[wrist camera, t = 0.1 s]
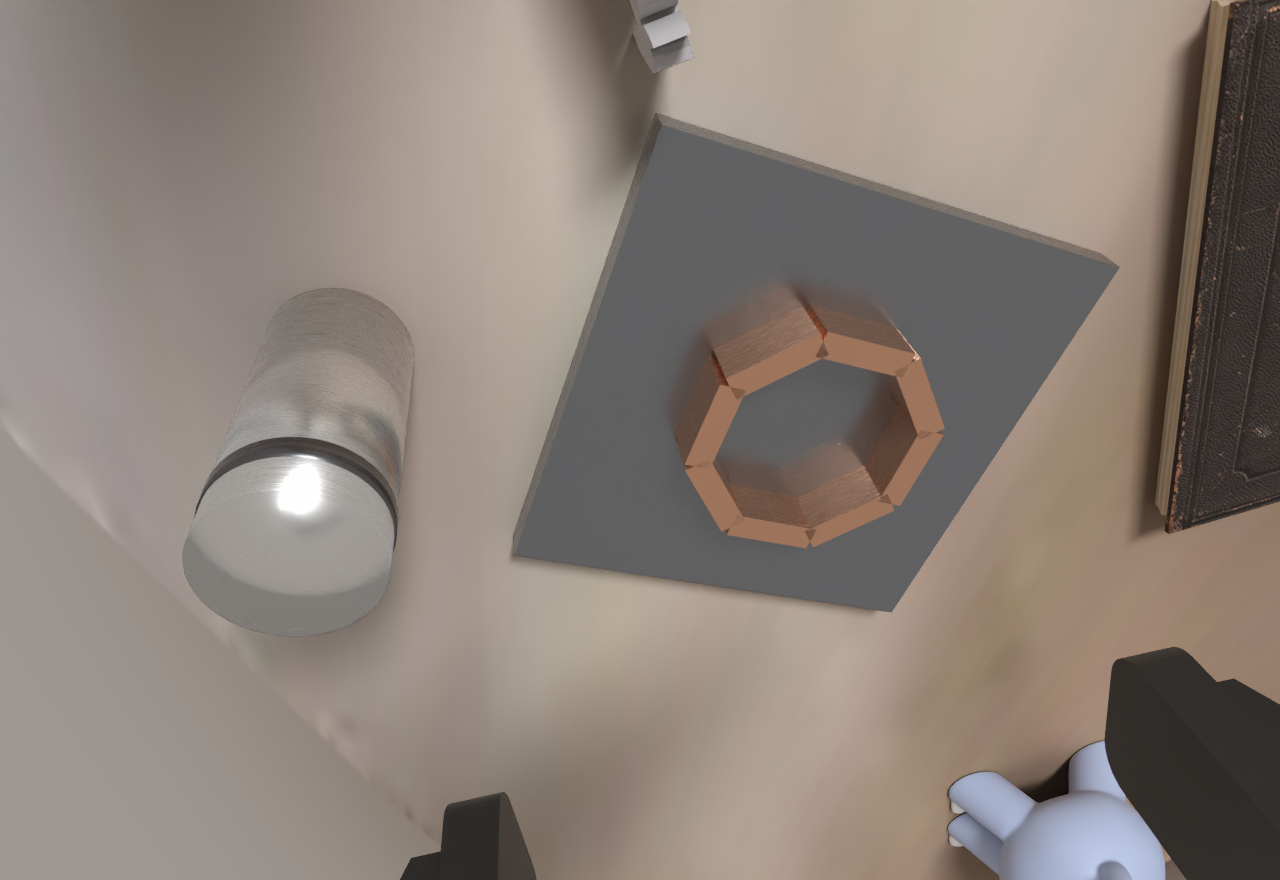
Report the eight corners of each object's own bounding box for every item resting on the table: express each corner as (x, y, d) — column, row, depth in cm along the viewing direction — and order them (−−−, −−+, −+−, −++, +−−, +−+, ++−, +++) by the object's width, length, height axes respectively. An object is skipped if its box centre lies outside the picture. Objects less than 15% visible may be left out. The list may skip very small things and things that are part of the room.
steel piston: (272, 270, 30) (187, 473, 21) (428, 306, 32) (409, 508, 23) (256, 397, 33) (174, 624, 24) (400, 425, 34) (374, 647, 25)
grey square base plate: (655, 113, 29) (673, 144, 26) (1101, 253, 34) (1152, 291, 32) (513, 536, 38) (515, 590, 35) (882, 593, 43) (907, 644, 41)
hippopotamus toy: (946, 883, 61) (1013, 1040, 54) (946, 756, 52) (1027, 921, 45) (1101, 844, 61) (1190, 995, 54) (1128, 710, 52) (1240, 868, 45)
